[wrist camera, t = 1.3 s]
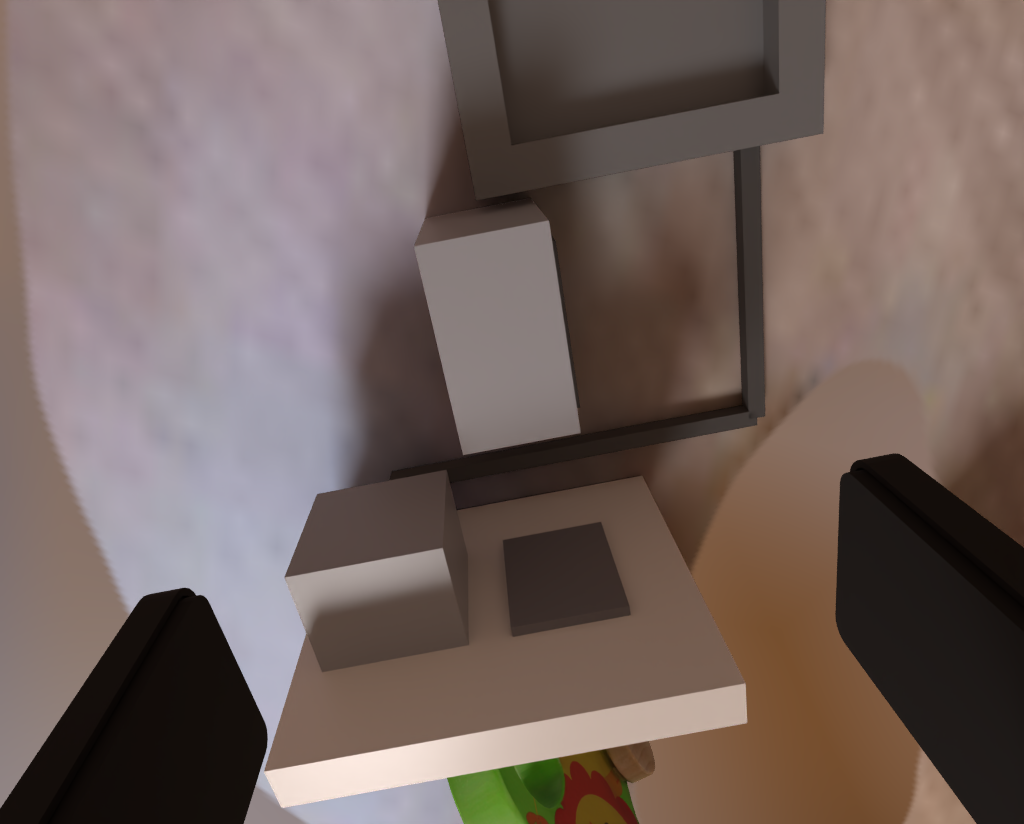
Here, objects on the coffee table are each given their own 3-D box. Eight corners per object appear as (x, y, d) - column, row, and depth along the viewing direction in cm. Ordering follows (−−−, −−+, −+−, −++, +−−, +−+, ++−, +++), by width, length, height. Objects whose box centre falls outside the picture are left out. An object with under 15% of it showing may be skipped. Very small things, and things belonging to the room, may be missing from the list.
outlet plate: (633, 395, 28) (741, 571, 17) (645, 505, 30) (747, 722, 19) (310, 455, 28) (213, 669, 17) (347, 561, 31) (281, 807, 20)
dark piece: (751, 140, 24) (797, 144, 21) (758, 416, 29) (796, 454, 26) (319, 224, 24) (297, 240, 21) (395, 485, 29) (386, 531, 26)
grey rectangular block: (534, 197, 25) (553, 219, 19) (561, 369, 28) (585, 432, 22) (425, 218, 25) (413, 246, 19) (463, 388, 28) (463, 455, 22)
